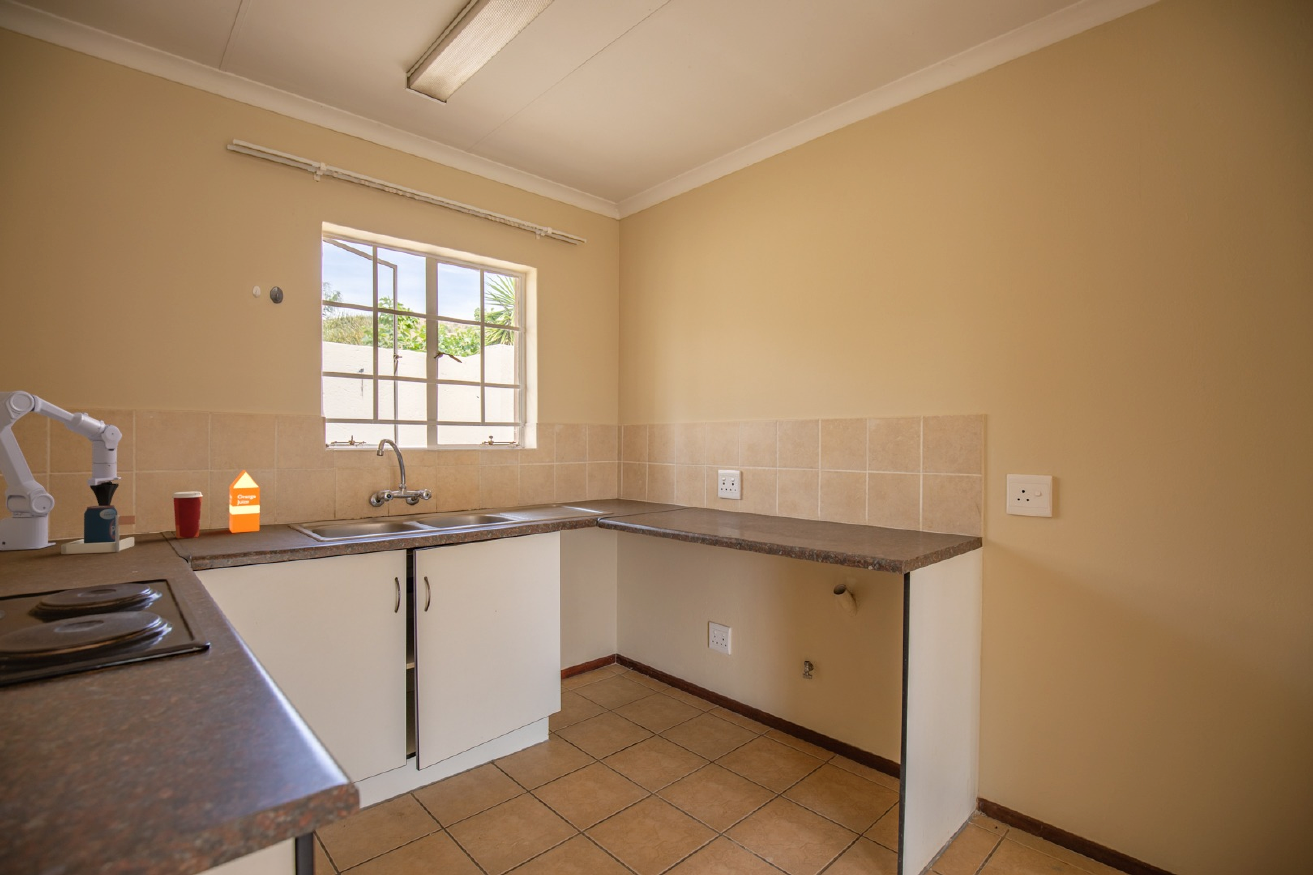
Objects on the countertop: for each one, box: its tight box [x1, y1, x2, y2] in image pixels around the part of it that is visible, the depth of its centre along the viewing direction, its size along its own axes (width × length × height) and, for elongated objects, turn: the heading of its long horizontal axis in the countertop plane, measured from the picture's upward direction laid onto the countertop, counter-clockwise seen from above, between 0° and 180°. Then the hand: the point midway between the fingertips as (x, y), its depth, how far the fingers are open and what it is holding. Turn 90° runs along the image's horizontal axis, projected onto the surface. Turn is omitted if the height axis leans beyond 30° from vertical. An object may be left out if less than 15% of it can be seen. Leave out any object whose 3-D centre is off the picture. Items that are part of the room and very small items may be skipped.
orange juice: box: [229, 470, 261, 534], centre depth 211 cm, size 8×9×20 cm
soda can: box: [83, 504, 118, 543], centre depth 174 cm, size 7×7×12 cm
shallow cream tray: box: [60, 514, 136, 555], centre depth 173 cm, size 17×11×10 cm, turn 107°
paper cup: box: [172, 491, 204, 540], centre depth 196 cm, size 8×8×14 cm
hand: (104, 507), depth 194 cm, fingers closed
